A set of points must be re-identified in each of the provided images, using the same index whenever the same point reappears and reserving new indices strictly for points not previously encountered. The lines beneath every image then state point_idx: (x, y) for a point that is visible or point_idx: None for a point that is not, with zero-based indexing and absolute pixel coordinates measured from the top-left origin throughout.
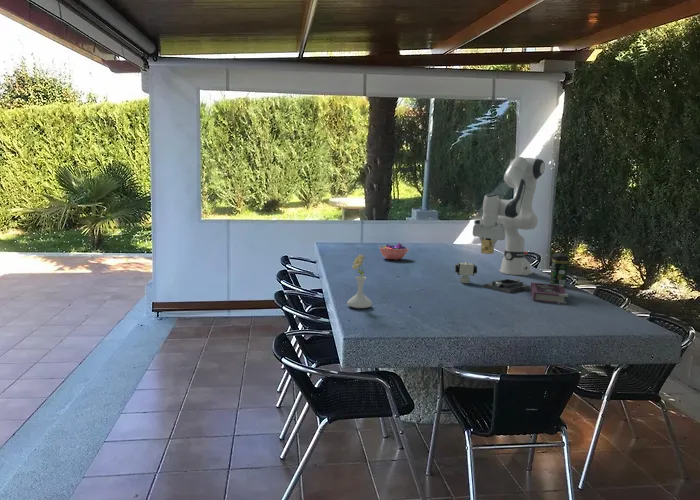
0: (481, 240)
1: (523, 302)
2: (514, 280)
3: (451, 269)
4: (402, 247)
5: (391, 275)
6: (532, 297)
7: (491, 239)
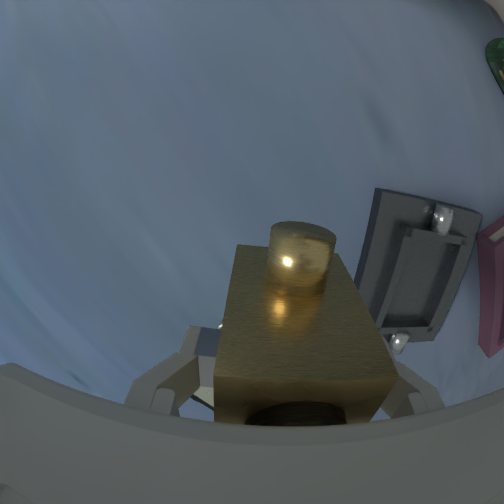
0: (178, 405)
1: (458, 371)
2: (438, 232)
3: (28, 127)
4: None
5: (64, 377)
6: (480, 324)
7: (345, 403)
